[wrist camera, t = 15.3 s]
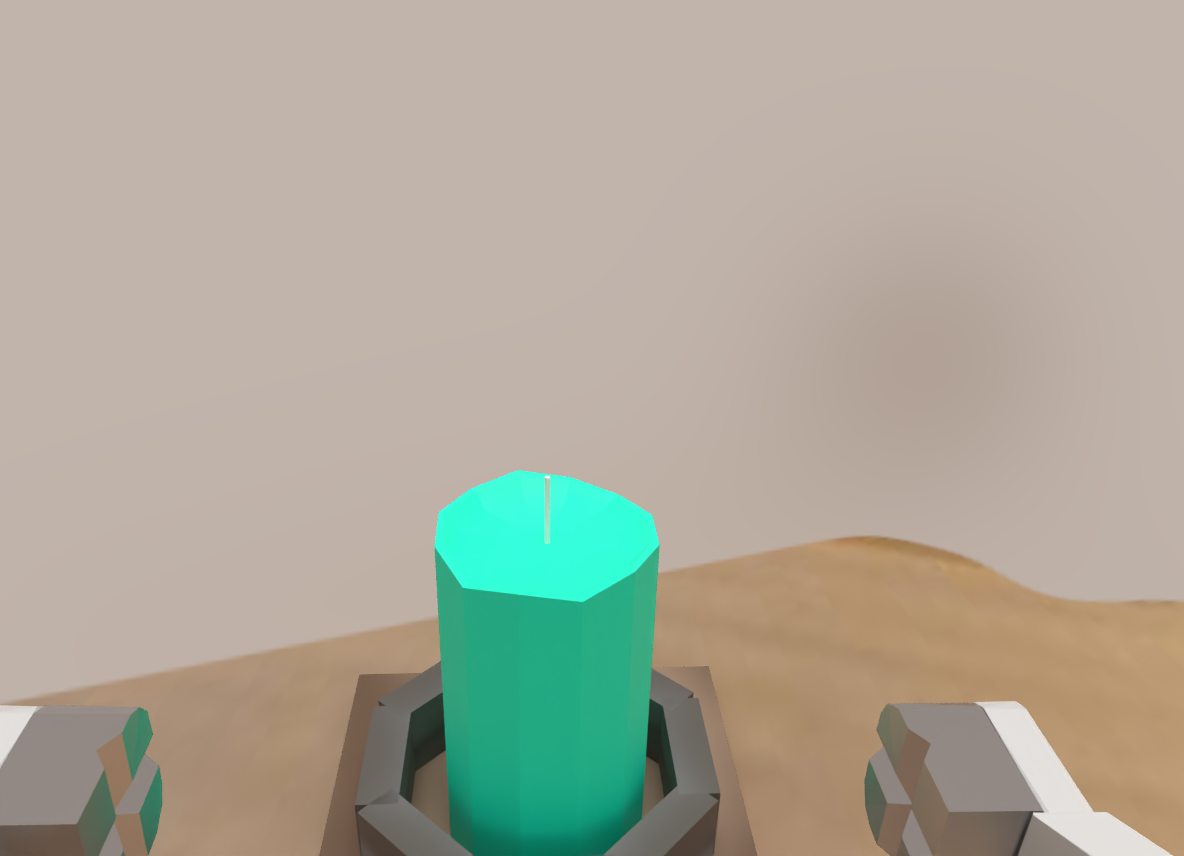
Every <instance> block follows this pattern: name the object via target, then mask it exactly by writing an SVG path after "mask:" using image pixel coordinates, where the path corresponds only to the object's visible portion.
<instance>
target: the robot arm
mask: <svg viewBox="0 0 1184 856" xmlns="http://www.w3.org/2000/svg"><path fill="white" fill-rule="evenodd" d="M877 732H878V734H879V737H880V739H881V741H882V743H883V747H882V748H881V749H880V750H879V751H878V752H877V753H875V754H874V755H873V756H872V757H871V758H870V759H869V763H868V767H867V772H866V777H865V806H866V811H867V815H868V820H869V824H870V827H871V830H872V833H873V835H874V838H875V841H876V843H877V845H878V846H880V847H881V848H882V849H883V850H884V851H886V852H887V853H888V854H889V855H890V856H1172V855H1171V854H1169V853H1168V852H1166V851H1165V850H1163V849H1162V848H1160V847H1159V846H1157V845H1156V844H1154V843H1153V842H1151V841H1150V840H1148V839H1147V838H1145V837H1144V836H1142V835H1141V834H1139V833H1138V832H1136V831H1135V830H1133V829H1132V828H1130V827H1129V826H1127V825H1126V824H1124V823H1123V822H1121V821H1120V820H1118V819H1116V818H1115V817H1113V816H1112V815H1110V814H1109V813H1107V812H1094V811H1093V810H1092V808H1091V807H1090V805H1089V804H1088V802H1087V801H1086V799H1085V798H1084V796H1083V795H1082V793H1081V792H1080V790H1079V789H1078V787H1077V786H1076V784H1075V783H1074V781H1073V779H1072V778H1071V776H1070V775H1069V773H1068V772H1067V770H1066V769H1065V767H1064V766H1063V764H1062V763H1061V761H1060V760H1059V758H1058V757H1057V755H1056V754H1055V752H1054V751H1053V749H1052V748H1051V746H1050V745H1049V743H1048V742H1047V740H1046V739H1045V737H1044V735H1043V734H1042V732H1041V731H1040V729H1039V728H1038V726H1037V725H1036V723H1035V722H1034V720H1033V719H1032V717H1031V716H1030V714H1029V713H1028V711H1027V710H1026V708H1025V707H1023V706H1022V705H1021V704H1019V703H1018V702H1016V701H1005V702H973V703H903V704H887V705H886V707H885V708H884V710H883V711H882V712H881V715H880V719H879V723H878V726H877ZM152 735H153V733H152V729H151V725H150V720H149V716H148V712H147V711H146V710H144V709H142V708H140V707H103V706H51V705H45V706H44V707H38V706H1V705H0V856H148V855H149V852H150V850H151V847H152V844H153V842H154V839H155V836H156V833H157V829H158V824H159V818H160V813H161V807H162V780H161V775H160V769H159V765H158V764H157V763H155V762H154V761H153V760H152V759H151V758H150V757H148V756H147V755H146V754H145V751H146V749H147V747H148V745H149V742H150V740H151V738H152Z"/></svg>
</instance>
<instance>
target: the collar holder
mask: <svg viewBox="0 0 1184 856" xmlns="http://www.w3.org/2000/svg"><path fill="white" fill-rule="evenodd" d="M319 856H473V855H472V854H471V853H470V852H468V851H467V850H466V849H465V848H464V847H462V846H461V845H460V844H459V843H458V842H456V841H455V840H454V839H453V838H452V837H451V833H450V815H449V797H448V779H447V761H446V743H445V724H444V706H443V688H442V670H441V661H440V662H439V663H437V664H436V665H434V666H432V667H431V668H429V669H428V670H426V671H424V672H423V673H408V674H366V675H359V679H358V684H357V688H356V693H355V697H354V702H353V706H352V711H351V715H350V720H349V724H348V729H347V733H346V738H345V742H344V747H343V751H342V756H341V760H340V765H339V769H338V774H337V779H336V783H335V788H334V792H333V797H332V801H331V806H330V810H329V815H328V819H327V824H326V828H325V833H324V837H323V842H322V846H321V851H320V855H319ZM598 856H757V852H756V848H755V845H754V841H753V837H752V833H751V829H750V825H749V821H748V817H747V814H746V810H745V806H744V802H743V798H742V794H741V790H740V786H739V783H738V779H737V775H736V771H735V767H734V763H733V759H732V756H731V752H730V748H729V744H728V740H727V736H726V732H725V728H724V725H723V721H722V717H721V713H720V709H719V705H718V701H717V697H716V694H715V690H714V686H713V682H712V678H711V674H710V670H709V666H704V667H662V668H652V669H651V684H650V700H649V716H648V731H647V747H646V763H645V778H644V794H643V809H642V819H641V820H640V821H639V822H638V823H637V824H636V825H635V826H634V827H633V828H632V829H631V830H630V831H629V832H628V833H626V834H625V835H624V836H623V837H622V838H621V839H620V840H619V841H618V842H617V843H616V844H615V845H614V846H613V847H612V848H610V849H609V850H608V851H607V852H606V853H605V854H604V855H598Z"/></svg>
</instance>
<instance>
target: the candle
mask: <svg viewBox="0 0 1184 856" xmlns="http://www.w3.org/2000/svg"><path fill="white" fill-rule="evenodd" d="M658 559H659V541H658V537H657V533H656V529H655V525H654V521H653V517H652V515H651V514H650V513H648V512H646V511H645V510H643V509H642V508H640V507H638V506H637V505H635V504H633V503H632V502H630V501H628V500H627V499H625V498H623V497H622V496H620V495H618V494H615V493H613V492H610V491H607V490H604V489H602V488H599V487H596V486H593V485H590V484H588V483H585V482H582V481H579V480H576V479H574V478H571V477H564V476H557V475H549V474H542V473H535V472H527V471H519V470H517V471H515V472H512V473H509V474H507V475H505V476H502V477H499V478H497V479H494V480H492V481H489V482H487V483H484V484H482V485H479V486H477V487H474V488H472V489H470V490H468V491H467V492H466V493H464V494H463V495H461V496H460V497H459V498H458V499H456V500H455V501H453V502H452V503H451V504H450V505H448V506H447V507H446V508H444V509H443V510H441V511H440V512H439V515H438V523H437V532H436V540H435V562H436V580H437V598H438V616H439V634H440V652H441V670H442V688H443V706H444V724H445V743H446V761H447V779H448V797H449V815H450V833H451V837H452V838H453V839H454V840H455V841H456V842H458V843H459V844H460V845H461V846H462V847H464V848H465V849H466V850H467V851H468V852H470V853H471V854H472V855H473V856H598V855H604V854H605V853H606V852H607V851H608V850H609V849H610V848H612V847H613V846H614V845H615V844H616V843H617V842H618V841H619V840H620V839H621V838H622V837H623V836H624V835H625V834H626V833H628V832H629V831H630V830H631V829H632V828H633V827H634V826H635V825H636V824H637V823H638V822H639V821H640V820H641V819H642V809H643V794H644V778H645V763H646V747H647V731H648V716H649V700H650V684H651V669H652V653H653V638H654V622H655V606H656V591H657V575H658Z"/></svg>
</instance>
